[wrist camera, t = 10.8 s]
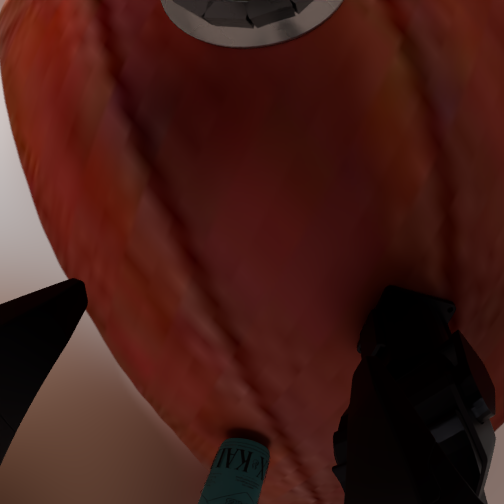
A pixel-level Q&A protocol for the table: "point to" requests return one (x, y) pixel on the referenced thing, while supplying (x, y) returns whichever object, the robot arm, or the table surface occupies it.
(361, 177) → the table surface
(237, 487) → the beverage bottle
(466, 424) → the robot arm
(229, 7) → the iron collar
